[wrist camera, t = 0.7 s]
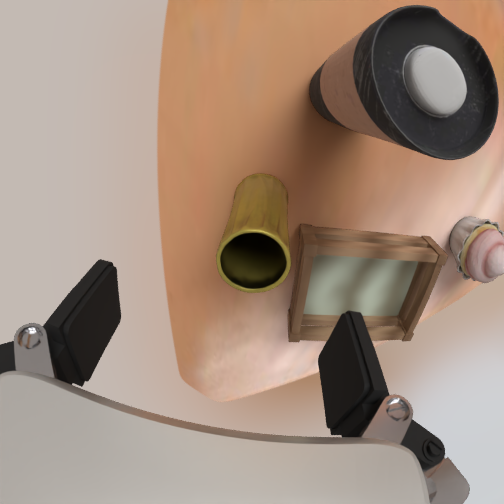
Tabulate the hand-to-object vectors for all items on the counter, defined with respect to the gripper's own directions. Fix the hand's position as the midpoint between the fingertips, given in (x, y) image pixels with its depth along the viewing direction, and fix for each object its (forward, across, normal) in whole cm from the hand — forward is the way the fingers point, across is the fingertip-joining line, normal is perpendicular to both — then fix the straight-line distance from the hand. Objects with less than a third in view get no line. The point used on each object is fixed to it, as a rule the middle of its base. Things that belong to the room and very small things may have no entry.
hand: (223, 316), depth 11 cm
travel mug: (+23, -7, -12) cm, 27 cm away
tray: (+22, -17, +10) cm, 30 cm away
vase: (+23, -2, +2) cm, 23 cm away
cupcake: (+22, -32, -1) cm, 39 cm away
